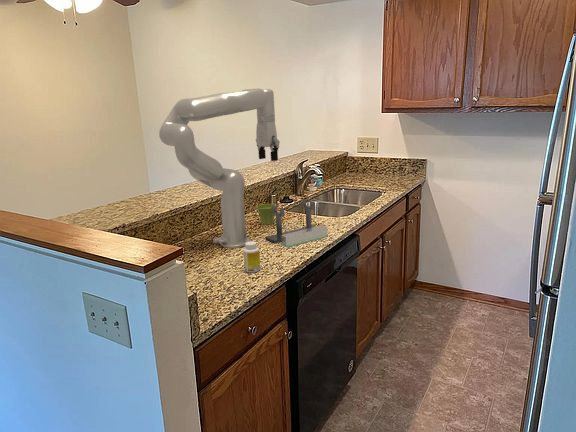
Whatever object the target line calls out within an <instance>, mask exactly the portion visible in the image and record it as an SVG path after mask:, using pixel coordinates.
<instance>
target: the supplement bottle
mask: <svg viewBox="0 0 576 432" xmlns="http://www.w3.org/2000/svg"><path fill="white" fill-rule="evenodd" d="M242 251H243V264H244V271H245V272H247V273H250V274H252V273H257V272H259V271H260V270H261V259H260V248H259V247H258V245H257V242H256V241H253V240H252V241H251V240H250V242H246V243H245V246H244V248H243V250H242Z"/></svg>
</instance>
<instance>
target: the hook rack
mask: <svg viewBox="0 0 576 432" xmlns="http://www.w3.org/2000/svg"><path fill="white" fill-rule="evenodd" d="M301 203H302V205H301V206H302V208H303V209H305V226H303V227H300V228H296V229H292V230H289V231H284V232H283V227H282V226H283V223H282V217H285V208H284V207H279V211H278V209H277V207H278V206H277V205H276V204H274V205H275V206H272V209H273V214H274V216H275V226H276V234H272V235H268V236H265V237H264V238H265V241H267V242H268V243H271V244H274V245H276V244H280V243H281V235H284V234H288V233H292V232H296V231H300V230H304V229H308V228H312V227H316V226H317V225H314V224H312V211H314V210H315V201H313V200H312V201H310V202H309V205H307V199H301Z"/></svg>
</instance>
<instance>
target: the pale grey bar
mask: <svg viewBox="0 0 576 432" xmlns="http://www.w3.org/2000/svg"><path fill="white" fill-rule="evenodd" d="M315 226H316V227H312V228H308V229H304V230H300V231H296V232H292V233H288V234H284V235H281V244H283V245H286V246H287V245H291V244H294V243H298V242H302V241H306V240H309V239H313V238H317V237H321V236H324V235H327V236H328V235H329V234H328V226H327V225H324V224H321V225H315ZM283 245H282V246H283Z"/></svg>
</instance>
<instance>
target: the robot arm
mask: <svg viewBox="0 0 576 432" xmlns="http://www.w3.org/2000/svg"><path fill="white" fill-rule="evenodd" d="M255 110H256V120H257V123H256V133H255V134H256V137H255V142H256V146H257V150H258V159H259V160H263V159H266V158H267V157H266V149H265V148H268V147H269V148H270V149H269V150H271V151H270V161H271V162H277V161H278V160H279V158H278V157H279V156H278V152H279V148H280V140H279V139H278V136H277V135H278V133H277V127H276V117H275V113H276V112H275V95H274V90H273V89H270V88H265V89H262V88H248V89H242V90H241V91H237V92H219V93H213V94H209V95H205V96H204V95H203V96H198V97H192V98H191V97H190V98H182V99H180V100H178V101H177V102H176V103H175V105H174V106H173V107H172V109H171V110H170V112H169V114H168V115H167V117H166V118H165V120H164V121H163V122H162V125H161V126H160V129H159V130H158V131H159V132H158V133H159V134H158V135H159V136H158V137H159V139H160V141H161V142H162V143H163V144H164V145H166V146H170V147H174V154H175V156H176V159H177V161H178V162H179V164H181V166H183V167H184V168H186V169H188V173H189V174H190V175H191V177H192V178H193V179H195V180H197V181H198V182H200V183H202V184H204V185H206V186H208V187H209V188H211V189H214V190H216V191H219V192H222V194H221V198H220V211H221V212H220V213H221V222H222V232H223V233H221V234H220V236H219V237H215V238H213V239H212V242H213V244H216V243H219V244H220V246H221V247H224V248H228V249H237V248H243V247H245V243H246V242H250V241H251V239H250V238H249V237H247V231H246V230H247V229H246V217H245V216H246V214H245V198H244V197H245V196H244V194H245V186H246V182H245V181H246V180H245V178H244V175H243V174H242V173H241V172H240V171H238V170H237V169H230V168H224V167H223V165H222V164H221V163H220V161H218V160H217V159H215V158H214V157H212V156H210V155H208V154H207V153H205V152H203V151H202V150H200V149H199V148H198V147H197V146H196V143H195V142H196V141H195V137H194V136H195V135H194V131H193V129H192V128H191V127H190V126H189V125H188V124H189V122H200V121H205V120H208V119H214V118H218V117H223V116H229V115H234V114H238V113H243V112H248V111H255Z"/></svg>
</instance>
